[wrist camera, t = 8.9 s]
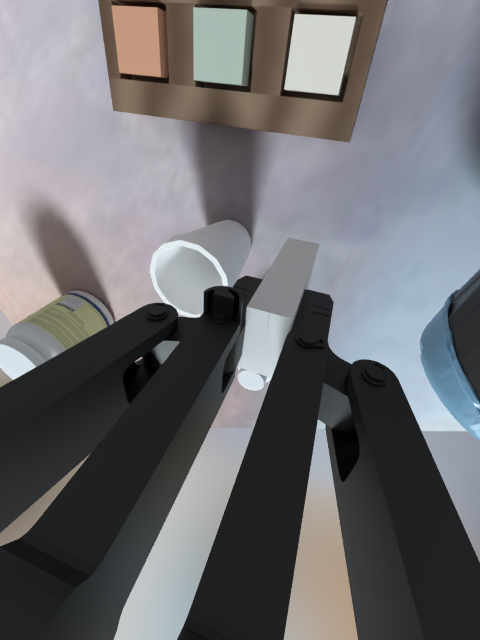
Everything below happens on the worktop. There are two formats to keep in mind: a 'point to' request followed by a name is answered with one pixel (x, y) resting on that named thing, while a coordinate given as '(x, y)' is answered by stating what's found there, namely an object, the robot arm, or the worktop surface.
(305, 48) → the cream tile
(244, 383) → the supplement bottle
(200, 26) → the sage tile
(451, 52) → the worktop surface
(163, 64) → the terracotta tile
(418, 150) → the worktop surface
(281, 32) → the walnut board
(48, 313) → the supplement tub
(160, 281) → the foam cup
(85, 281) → the worktop surface
